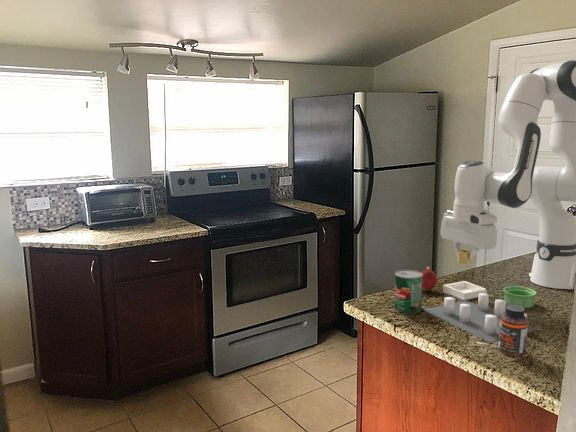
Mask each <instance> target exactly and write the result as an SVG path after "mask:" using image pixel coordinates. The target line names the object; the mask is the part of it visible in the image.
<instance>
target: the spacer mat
mask: <svg viewBox="0 0 576 432" xmlns="http://www.w3.org/2000/svg"><path fill="white" fill-rule="evenodd" d="M477 299H478V301H477V302H478V303H477V304H476V303H474V302H471V301H470V300H462V301H457V302H456V298H454V297H453V296H452V297H451V296H446V297H444V305H437V306H434V307H428V308H424V309H422V311H424V312H426V313H428V314H429V315H432V316H435V317H436V318H438V319H441V320H443V321H445V322H446V323H448V324H451V325H452V326H455V327H457V328H458V329H461V330H463V331H465V332H467V333H469V334H471V335H473V336H475V337H477V338H479V339H482V340H483V341H486V342H487V343H492V342H496V341H499V337H500V325H501V317H502V315H504V314H506V307H507V306H506V305H507V304H506V301H504V300H503V299H495V300H494V311H493V310H491V309H489V303H490V301H489V300H490V295H489V294H488V293H487V292H486V293H480V294H479V297H477ZM524 316H525V317H526V318H527V319H528V314H527V313H525V312H524ZM537 329H538V328H537ZM537 329H536V328H534V327H532V326H530V325H528V329H527V333H529V332H533V331H537Z"/></svg>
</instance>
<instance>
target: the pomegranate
mask: <svg viewBox="0 0 576 432" xmlns="http://www.w3.org/2000/svg"><path fill="white" fill-rule="evenodd" d="M421 273H422V274H423V276H422V290H424V291H426V292H429V291H431V290H432V289H434V288H435V287H436V285H437V284H438V278H437V275H436V273H435V272H434V271H433V270H431V267H430V266H427V267H426V269H425V270H423V271H422V272H421Z"/></svg>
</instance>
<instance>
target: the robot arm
mask: <svg viewBox="0 0 576 432" xmlns="http://www.w3.org/2000/svg"><path fill="white" fill-rule="evenodd" d="M511 84H512V85H511V86H510V88H509V90H508V91H507V94H506V95H505V98H504V101H503V102H502V105H501V107H500V111H499V114H498V124H499V127H500V129H501V130H502V131H503V132H504V133H506V134H507V135H508V136H509V137H511V138H513V139H515V140H516V143H517V151H516V155H515V160H514V165H513V168H512V169H511V171H510V172H500V171H495V170H494V169H490V168H489V167H487V165H485V162H483V161H481V160H469V161H465V162H462V163H460V164H459V165H458V167H457V170H456V172H455V173H456V174H455V179H454V195H455V196H454V197H455V198H454V201H453V208H452V209H453V210H449V209H447V210H446V211H445V212H444V213H443V217H442V220H441V226H440V232H439V235H440V237H441V238H442V239H446V240H448V241H452V243H453V244H452V245H453V247H454V250H455V256H457V254H458V250H462V246H461V245H462V244H463V245H466V246H469V247H470V248H471V249H470V250H471V251H472V252H471V254H468V256H469V257H468V259H469V260H472V261H476V260H477V254H478V253H479V252H480V250H484V251H491V250H494V249H495V248H496V246H497V238H498V237H497V236H498V233H497V232H498V231H497V230H498V229H497V227H496V225H495V224H496V223H497V222H498V219H497V216H496V215H494V214H493V213H491V212H489V211H488V210H487V209H486V208H485V203H484V202H487V203H492V204H493V203H494V204H497V205H502V206H505V207H508V208H512V209H517V208H520V207H521V206H523V205H525V204H526V203H527V202H528V201H529V199H530V200H531V202H532V203H533V205H534V206H535V208H536V211H537V214H538V219H539V220H538V221H539V223H538V224H539V226H538V227H539V232H538V239H537V240H536V253H535V254H534V257H533V262H532V267H531V272H529V273H528V276H529V277H530V279H529V280H530V282H532V283H533V284H534V285H535V284H536V285H538V286H540V287H545V288H549V289H550V288H552V289H557V290H558V289H559V290H571V289H572V290H571V291H574V290H573V285H574V282H575V273H576V217H575V216H574V215H573V214H572V213H570V212H569V211H568V210H566V209H565V208H564V207H563V206H562V202H570V203H572V202H573V203H576V60H574V59H573V60H567V61H562V62H555V63H551V64H549V65H545V66H542V67H541V68H536V69H534V70H531V71H530V72H526V73H522V74H520V75H518V76H517V77H516V78H515V80H514V81H513V83H511ZM544 101H552V103H553V107H554V111H553V114H552V121H551V126H550V133H549V141H548V145H549V148H550V150H551V151H552V153H555V154H556V155H557V156H559V157H561V158H562V159H563V160H564V163H565V164H564V166H552V165H550V166H548V165H539V166H538V165H537V166H536V163H537V159H538V153H539V149H540V144H541V138H542V131H541V128H540V126H539V125H538V119H539V115H540V112H541V111H542V107H543V103H544Z"/></svg>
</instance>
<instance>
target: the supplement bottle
mask: <svg viewBox="0 0 576 432" xmlns="http://www.w3.org/2000/svg"><path fill="white" fill-rule="evenodd" d="M525 309H526V308H523V307H520V306H516V305H507V306H506V307H505V314H504V315H502V317H501V325H500V337H499V340H498V350H499V352H500V353H501V354H503V355H506V356H508V357H509V356H510V357H515V358H522V357H524V356H525V354H526V349H527V348H526V347H527V339H528V338H527V337H528V332H527V329H528V326H529V320H528V317H527V318H526V317H525V316H524V313H525V311H526V310H525Z"/></svg>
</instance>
